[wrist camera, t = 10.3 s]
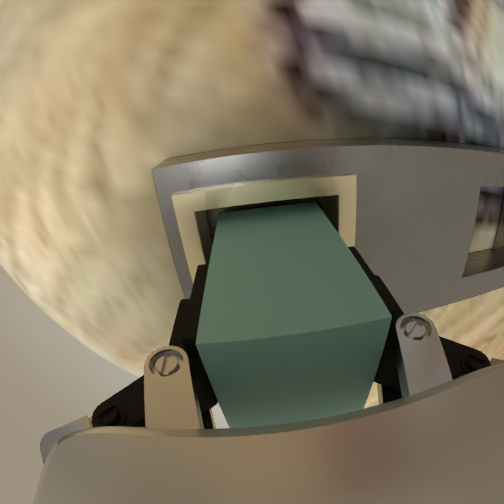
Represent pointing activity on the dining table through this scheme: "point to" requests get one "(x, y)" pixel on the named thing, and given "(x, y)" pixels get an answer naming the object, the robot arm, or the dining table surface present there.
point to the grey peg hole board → (353, 207)
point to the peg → (288, 318)
